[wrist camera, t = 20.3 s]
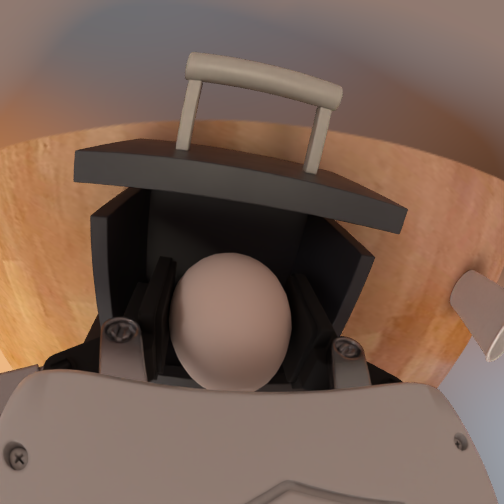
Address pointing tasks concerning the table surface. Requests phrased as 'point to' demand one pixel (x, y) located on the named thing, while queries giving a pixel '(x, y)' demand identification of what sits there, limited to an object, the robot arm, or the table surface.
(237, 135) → the table surface
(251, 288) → the egg
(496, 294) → the dixie cup
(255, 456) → the robot arm
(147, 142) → the drawer
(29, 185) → the table surface
